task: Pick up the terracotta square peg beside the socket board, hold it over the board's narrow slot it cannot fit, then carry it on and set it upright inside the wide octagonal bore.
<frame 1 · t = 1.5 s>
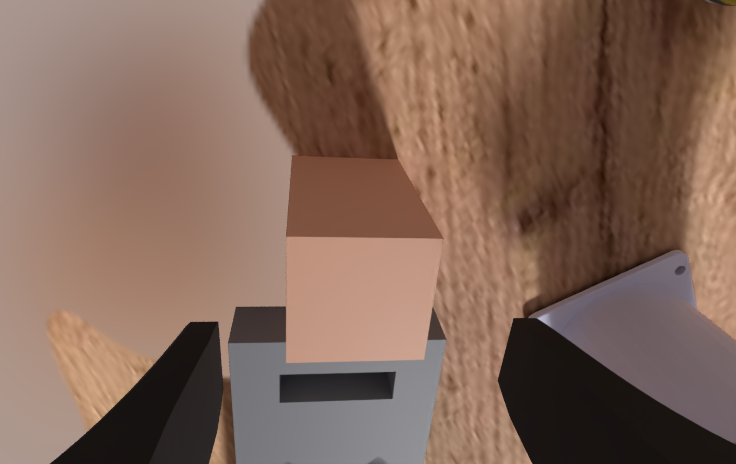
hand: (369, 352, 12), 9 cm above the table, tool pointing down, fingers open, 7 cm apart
peg: (343, 206, 20), on the table
socket board: (330, 430, 25), on the table
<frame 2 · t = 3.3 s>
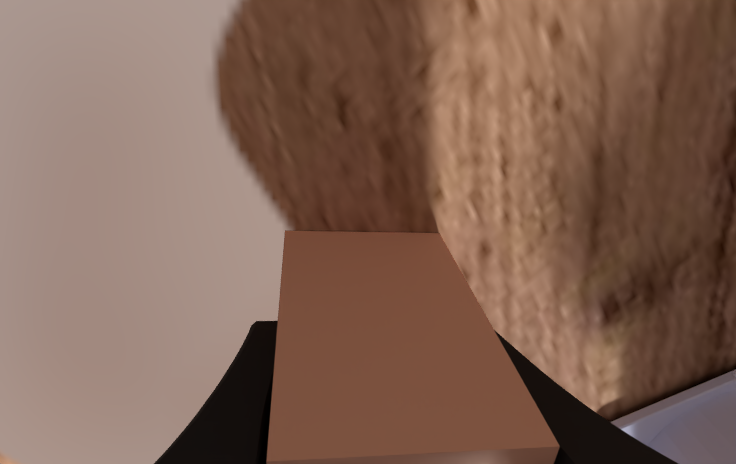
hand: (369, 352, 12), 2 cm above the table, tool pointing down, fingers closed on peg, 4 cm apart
peg: (358, 296, 14), on the table, touching gripper
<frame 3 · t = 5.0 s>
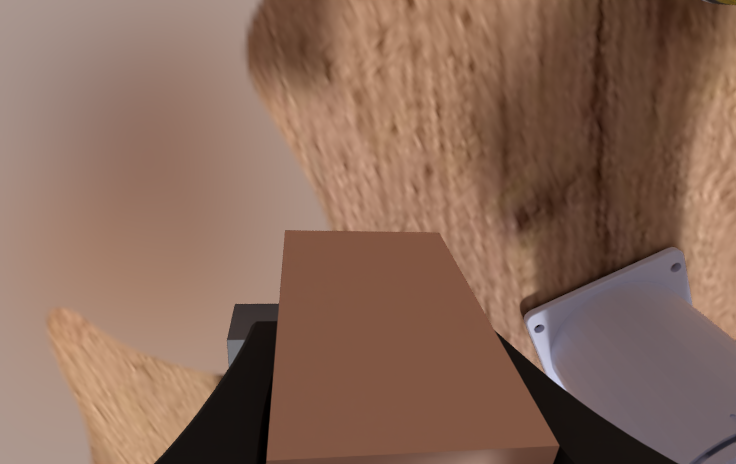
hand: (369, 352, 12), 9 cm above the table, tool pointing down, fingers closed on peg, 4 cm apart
peg: (358, 296, 14), point 7 cm above the table, touching gripper
socket board: (328, 427, 25), on the table
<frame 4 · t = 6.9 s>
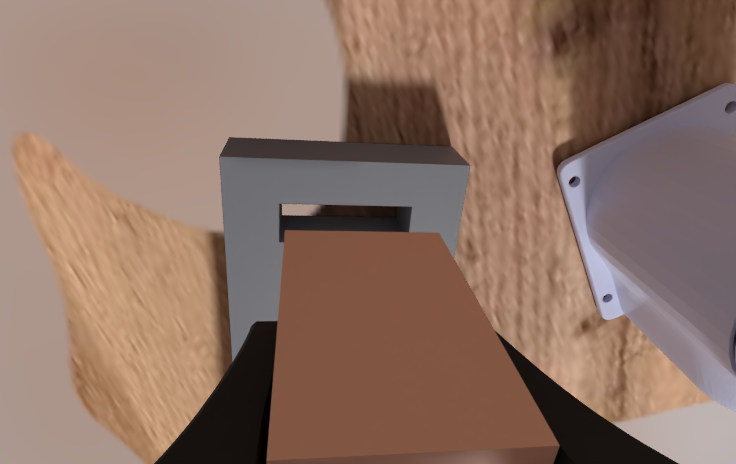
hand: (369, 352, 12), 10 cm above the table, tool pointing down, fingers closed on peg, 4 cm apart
peg: (358, 296, 14), point 7 cm above the table, touching gripper
socket board: (335, 306, 23), on the table
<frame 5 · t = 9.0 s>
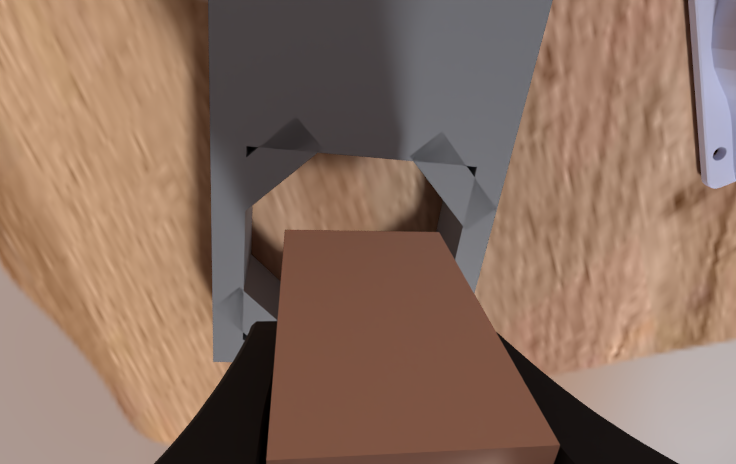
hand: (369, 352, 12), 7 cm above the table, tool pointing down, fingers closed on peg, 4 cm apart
peg: (358, 296, 14), point 5 cm above the table, touching gripper
socket board: (358, 134, 16), on the table
when the fingers open (4 cm above the table, at t = 10.6 s): peg drops 1 cm, resting in socket board.
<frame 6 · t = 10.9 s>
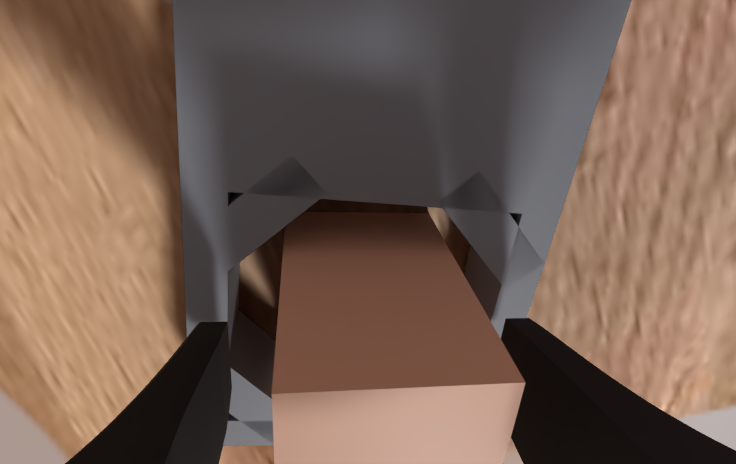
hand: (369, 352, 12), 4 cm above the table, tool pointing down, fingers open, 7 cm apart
peg: (355, 274, 15), resting in socket board
socket board: (369, 168, 13), on the table
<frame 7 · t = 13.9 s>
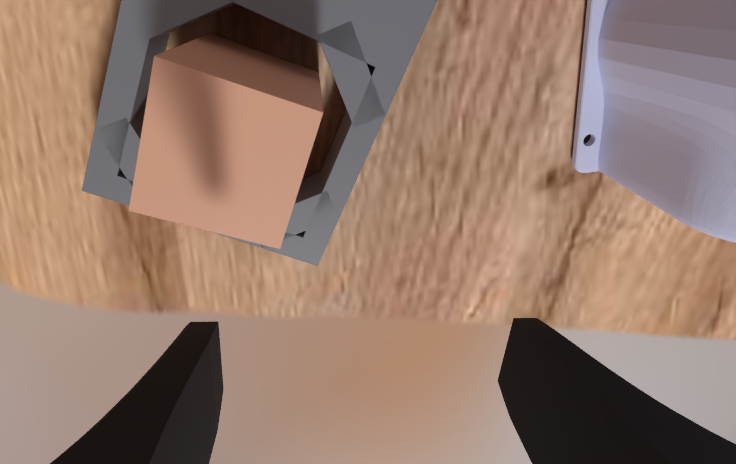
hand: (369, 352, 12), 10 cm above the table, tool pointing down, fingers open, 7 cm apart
peg: (252, 106, 19), resting in socket board
socket board: (281, 18, 17), on the table
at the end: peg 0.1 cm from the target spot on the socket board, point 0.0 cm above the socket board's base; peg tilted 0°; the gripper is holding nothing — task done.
